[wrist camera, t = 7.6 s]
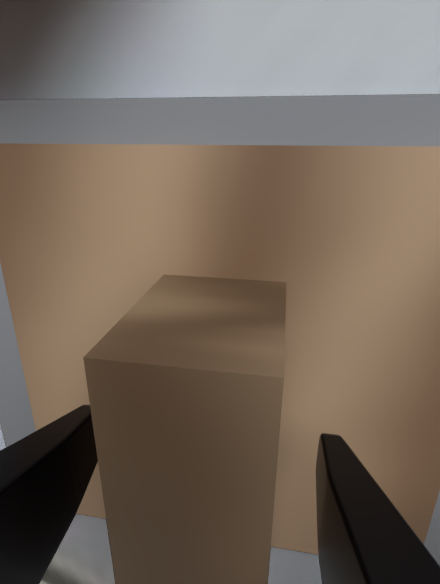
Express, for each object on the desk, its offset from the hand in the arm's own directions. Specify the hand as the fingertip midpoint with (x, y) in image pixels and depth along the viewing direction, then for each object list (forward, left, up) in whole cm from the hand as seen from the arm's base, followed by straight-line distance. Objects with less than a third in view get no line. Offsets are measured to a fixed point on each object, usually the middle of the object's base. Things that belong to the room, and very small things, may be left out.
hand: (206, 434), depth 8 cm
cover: (0, 0, -3) cm, 3 cm away
